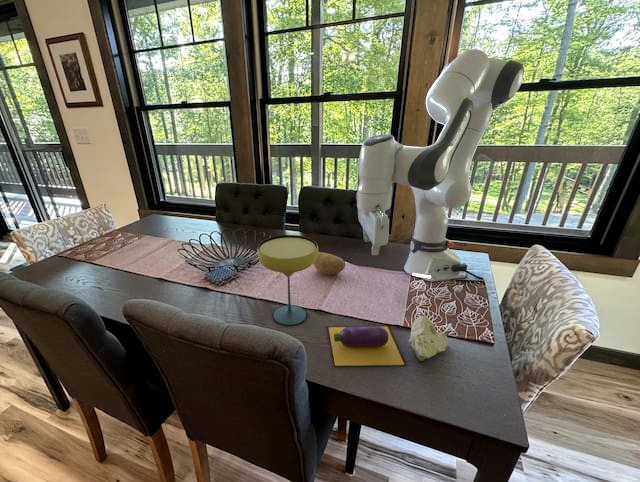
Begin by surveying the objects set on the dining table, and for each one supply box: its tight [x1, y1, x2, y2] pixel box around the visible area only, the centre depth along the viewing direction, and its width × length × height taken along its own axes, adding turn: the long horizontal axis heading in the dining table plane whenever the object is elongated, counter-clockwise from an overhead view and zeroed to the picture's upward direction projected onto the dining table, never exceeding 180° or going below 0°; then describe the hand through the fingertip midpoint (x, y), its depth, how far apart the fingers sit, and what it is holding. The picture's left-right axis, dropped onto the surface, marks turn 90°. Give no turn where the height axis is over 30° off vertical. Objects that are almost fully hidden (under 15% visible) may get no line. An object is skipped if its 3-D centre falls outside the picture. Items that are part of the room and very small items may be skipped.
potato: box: [313, 251, 347, 275], centre depth 126 cm, size 10×14×8 cm
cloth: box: [328, 326, 405, 367], centre depth 89 cm, size 18×16×1 cm
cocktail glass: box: [256, 234, 319, 326], centre depth 97 cm, size 18×18×25 cm
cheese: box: [408, 314, 450, 362], centre depth 84 cm, size 15×7×15 cm
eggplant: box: [334, 325, 389, 347], centre depth 88 cm, size 15×6×6 cm, turn 88°
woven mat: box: [204, 266, 240, 286], centre depth 128 cm, size 10×11×2 cm
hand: (370, 247), depth 91 cm, fingers open, 8 cm apart
